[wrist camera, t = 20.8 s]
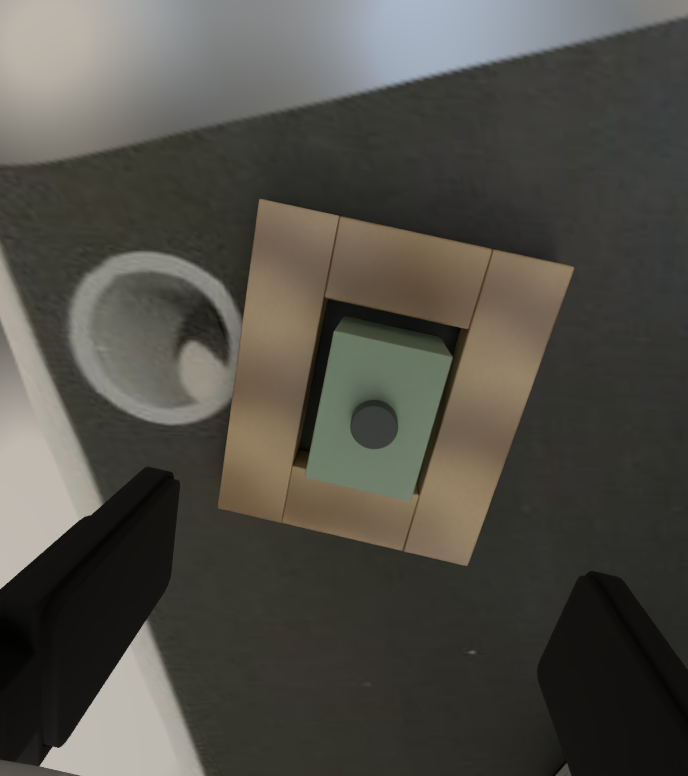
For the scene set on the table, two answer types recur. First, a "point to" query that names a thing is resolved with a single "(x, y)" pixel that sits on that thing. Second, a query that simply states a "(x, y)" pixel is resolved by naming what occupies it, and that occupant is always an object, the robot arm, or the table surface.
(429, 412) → the green knobbed block
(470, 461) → the wooden frame
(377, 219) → the table surface
